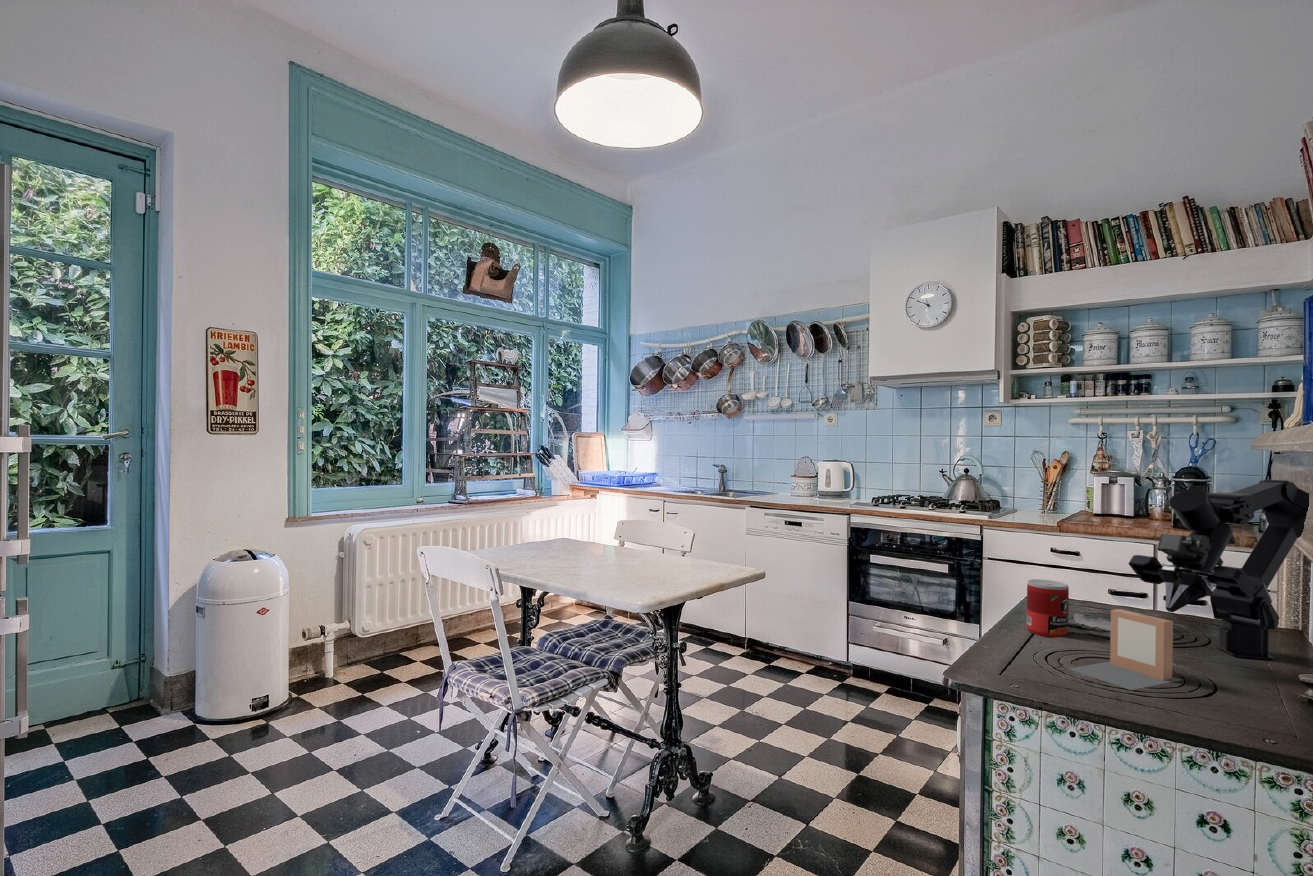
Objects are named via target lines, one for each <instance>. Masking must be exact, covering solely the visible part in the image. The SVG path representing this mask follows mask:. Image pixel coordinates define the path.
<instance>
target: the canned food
mask: <svg viewBox="0 0 1313 876" xmlns="http://www.w3.org/2000/svg"><path fill="white" fill-rule="evenodd" d="M1026 585H1027V587H1026V628H1027V631H1028V632H1029V633H1030V634H1034V635H1036V636H1040V637H1044V636H1046V637H1045V638H1050V637H1052V638H1051V639H1054V638H1061V637H1067V635H1068V634H1069V632H1068V621H1069V602H1070V601H1069V600H1070V599H1069V597H1070V596H1069V595H1070V594H1069V593H1070V592H1069V590H1070V588H1069V585H1068V584H1067V583H1066V582H1065V583H1064V582H1061V581H1056V580H1051V579H1042V578H1041V579H1040V578H1039V579H1038V578H1037V579H1028V580H1027V583H1026Z"/></svg>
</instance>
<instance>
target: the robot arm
mask: <svg viewBox="0 0 1313 876" xmlns="http://www.w3.org/2000/svg"><path fill="white" fill-rule="evenodd" d="M1309 494H1310V493H1309V492H1307V491H1305V490H1302V489H1301V488H1299V487H1298V486H1297V485H1296V483H1294V482H1293V481H1290V480H1283V479H1263V480H1260V481H1259V482H1258V483H1255V484H1252V485H1250V486H1247V487H1244V488H1241V489H1238V490H1236V491H1232V492H1208V493H1207V491H1206V489H1205V488H1204V486H1201V485H1200V486H1199V485H1190V486H1189V488H1188V489H1185V490H1182V491H1180V492H1177V493H1175V495H1172V496H1171V498H1170V500H1169V506H1170V507H1171V509H1172V510H1173V511H1174V513H1175V515H1176V516H1177V518H1178V519H1179V521H1180V522H1181V524H1182V525H1183V527H1185V529H1187V530H1191V531H1190V533H1189V534H1188V536H1186V535H1181V534H1171V533H1170V534H1169V533H1161V534H1160V537H1159V541H1158V545H1157V551H1159V552H1163V553H1164V554H1166V557H1165V558H1166V559H1167V561H1168V562H1169V563H1167V562H1163V563H1161V562H1160V561H1159V559H1158V558H1157V557H1156V556H1150V555H1142V554H1134V555H1133V556H1131V558H1130V560H1129V562H1128V566H1129V567H1130V568H1131V569H1132V571H1133V572H1134V573H1135V574H1136V575H1137V577H1138V578H1139V580H1141V581H1142V582H1144V583H1147V584H1154V585H1160V584H1165V609H1166V611H1167V612H1169V613H1174V612H1176V611H1178V610H1180V609H1183V607H1186V606H1188V605H1189V604H1191V603H1193V602H1196V601H1198V600H1200V599H1202V598H1205V597H1206V598H1207V597H1210V598H1209V599H1210V600H1209V601H1210V605H1211V611H1212V614H1213V619H1215V620H1222V621H1221V622H1222V623H1221V625H1222V626H1220V627H1219V637H1218V638H1219V643H1218V645H1216V646H1217V648H1218V649H1219V650H1221V651H1223V652H1225V653H1227V654H1229V655H1232V656H1233V657H1237V658H1247V659H1248V658H1249V659H1261V660H1269V659H1274V658H1275V657H1274V656H1271V655H1269V633H1270V632H1269V630H1273V631H1275V630H1277V628H1278V626H1279V623H1280V622H1279V620H1280V616H1279V614H1278V613H1277V611H1276V609H1275V608H1274V606H1273V603H1272V598H1271V595H1270V593H1269V590H1268V588H1269V586H1270V585H1271V583H1272V581H1273V580H1274V577H1276V575H1277V573H1278V571H1279V569H1280V568H1281V566H1282V564H1283V562H1285V559H1286V558H1287V556H1288V555H1289V553H1290V551H1291V550H1292V548H1293V546H1294V545H1295V543H1296V541H1297V540H1298V539H1299V537H1300V536H1301V534H1302V532H1303V529H1304V522H1305V519H1306V515H1307V514H1306V513H1307V511H1308V507H1309ZM1259 510H1261V511H1262V512H1263V515H1264V517H1265V519H1266V521H1267V524H1268V525H1267V526H1266V528H1265V530H1264V531H1263V533H1262V535H1260V538H1259V539H1258V541H1257V542H1256V545H1255V546H1254V547H1253V548H1252V551H1250V554H1248V555H1249V556H1248V557H1247V559H1246V561H1245V562H1244V563H1243V565H1242V566H1241V567H1234V566H1226V565H1223V564H1224V561H1223V559H1222V558H1221V557H1222V556H1223V554H1224V551H1225V550H1226V547H1227V545H1228V544H1229V545H1236V537H1235V536H1234V535H1233V534H1234V532H1233V530H1232V528H1231V527H1230V526H1229V525H1236V526H1237V525H1238V526H1244V525H1247V523H1249V522H1250V521H1252V520H1253V519H1254V518H1255V512H1257V511H1259ZM1300 538H1301V537H1300Z"/></svg>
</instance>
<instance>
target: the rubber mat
mask: <svg viewBox="0 0 1313 876" xmlns="http://www.w3.org/2000/svg"><path fill="white" fill-rule="evenodd" d="M1067 670H1069V671H1073V672H1075V673H1079V674H1080V675H1081V674H1082V675H1085V676H1087V677H1091V678H1093V679H1097V680H1098V681H1099V680H1100V681H1101V682H1105V683H1108V684H1111V685H1114V686H1117V687H1121V688H1122V689H1126V690H1129V691H1135V690H1140V689H1143V688H1144V689H1145V688H1149V687H1150V688H1151V687H1155V686H1159V685H1165V684H1170V683H1174V682H1181V681H1183V679H1181V678H1178V677H1175V676H1172V679H1168V680H1160V679H1157V678H1154V677H1151V676H1147V675H1144V674H1141V673H1138V672H1135V671H1131V670H1128V669H1125V668H1122V667H1118V666H1115V665H1112V664H1110V660H1109V661H1105V662H1098V663H1093V664H1087V665H1081V666H1075V667H1068V668H1067Z"/></svg>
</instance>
